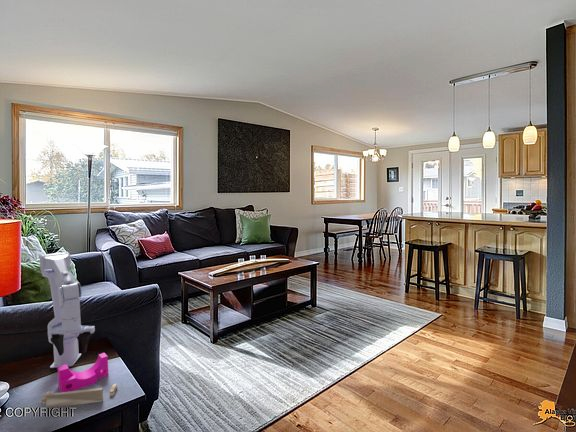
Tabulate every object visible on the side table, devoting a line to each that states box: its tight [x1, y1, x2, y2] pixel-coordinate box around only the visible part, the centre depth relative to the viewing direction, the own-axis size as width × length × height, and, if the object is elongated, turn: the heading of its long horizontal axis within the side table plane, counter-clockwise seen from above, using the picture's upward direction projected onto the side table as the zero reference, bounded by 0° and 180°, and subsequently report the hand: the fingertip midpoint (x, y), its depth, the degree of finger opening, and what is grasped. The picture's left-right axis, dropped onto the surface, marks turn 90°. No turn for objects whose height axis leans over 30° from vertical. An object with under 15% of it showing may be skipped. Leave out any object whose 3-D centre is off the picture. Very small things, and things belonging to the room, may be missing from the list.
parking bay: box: [40, 383, 118, 409], centre depth 114 cm, size 7×21×4 cm, turn 102°
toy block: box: [56, 352, 109, 393], centre depth 123 cm, size 15×6×8 cm, turn 133°
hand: (73, 353), depth 125 cm, fingers open, 7 cm apart
